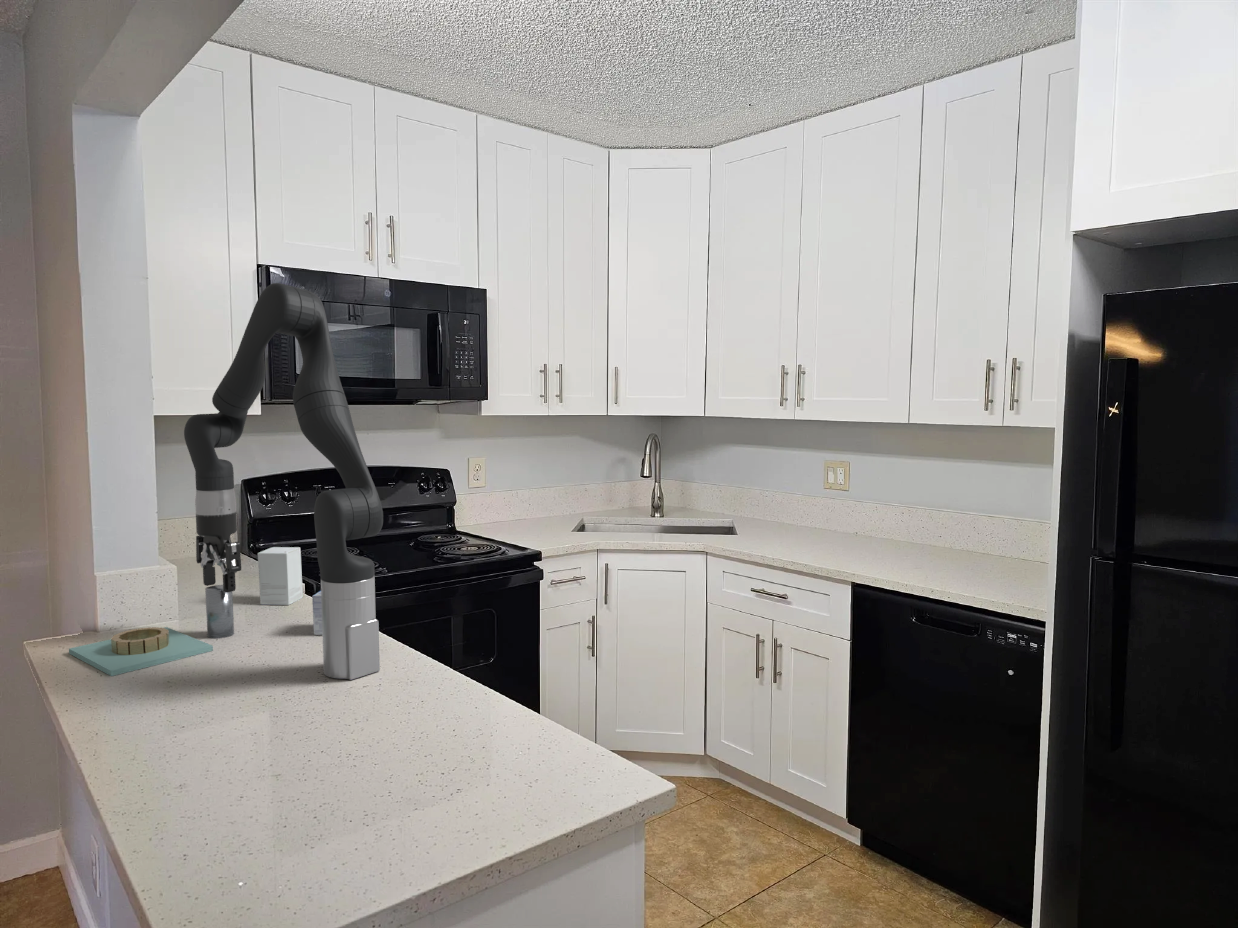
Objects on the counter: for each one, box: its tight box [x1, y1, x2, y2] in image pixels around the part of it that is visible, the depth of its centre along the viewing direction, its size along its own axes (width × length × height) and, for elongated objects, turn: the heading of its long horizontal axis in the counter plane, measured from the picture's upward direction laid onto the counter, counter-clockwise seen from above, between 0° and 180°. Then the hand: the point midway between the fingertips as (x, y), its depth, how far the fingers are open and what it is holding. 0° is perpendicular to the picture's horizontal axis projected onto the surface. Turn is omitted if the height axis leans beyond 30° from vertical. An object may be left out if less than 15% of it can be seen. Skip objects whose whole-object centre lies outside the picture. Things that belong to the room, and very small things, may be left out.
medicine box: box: [311, 590, 322, 636], centre depth 173 cm, size 8×4×9 cm, turn 179°
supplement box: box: [257, 546, 304, 606], centre depth 195 cm, size 7×7×13 cm
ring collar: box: [111, 626, 169, 655], centre depth 158 cm, size 9×9×2 cm
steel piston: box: [204, 584, 235, 639], centre depth 169 cm, size 5×5×10 cm
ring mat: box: [68, 626, 214, 677], centre depth 158 cm, size 20×18×1 cm
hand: (219, 588), depth 169 cm, fingers open, 8 cm apart
